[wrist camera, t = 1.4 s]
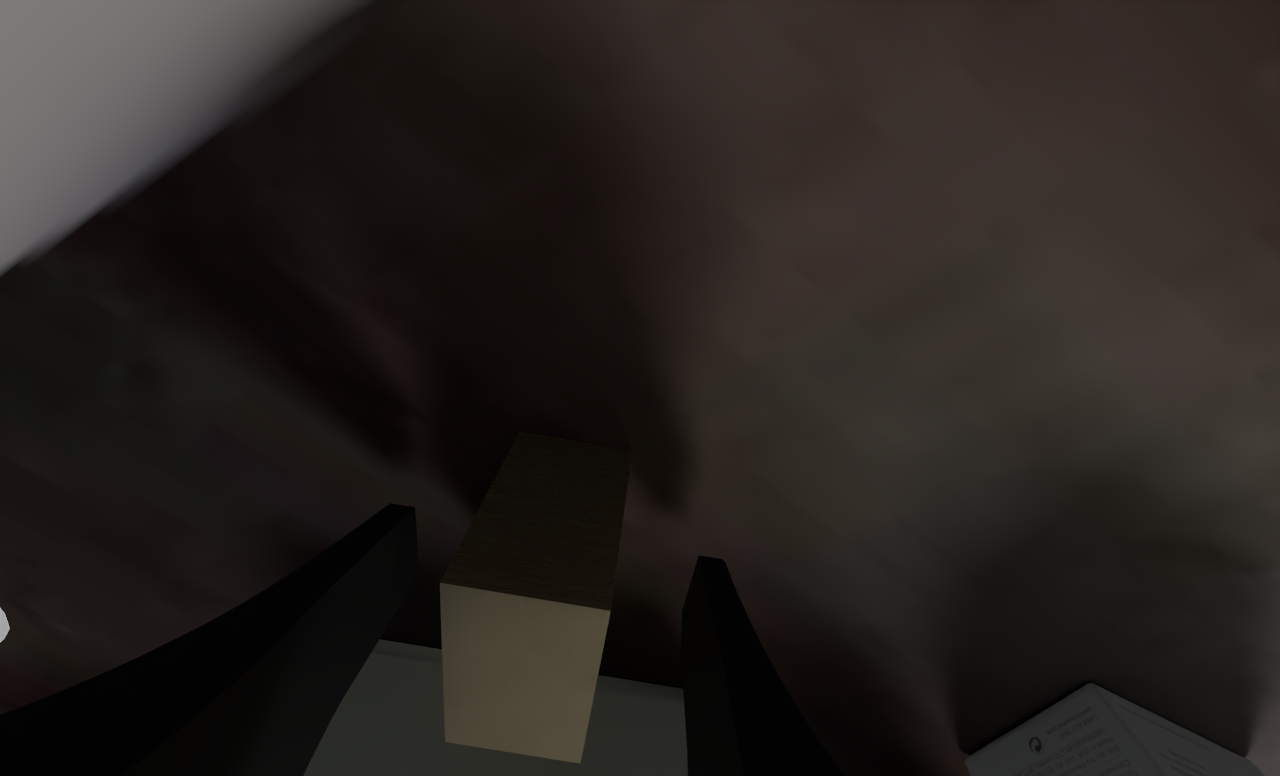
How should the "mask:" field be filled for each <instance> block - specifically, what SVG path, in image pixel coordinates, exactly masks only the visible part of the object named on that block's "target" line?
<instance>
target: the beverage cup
mask: <svg viewBox="0 0 1280 776" xmlns="http://www.w3.org/2000/svg"><path fill="white" fill-rule="evenodd" d="M9 629H10V628H9V625H8V621H7V618H6V615H5V613H4V612H3V611H2V609H1V608H0V642H1V641H2V640H4V638H5V637H6V635H7V633H8V631H9Z"/></svg>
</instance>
